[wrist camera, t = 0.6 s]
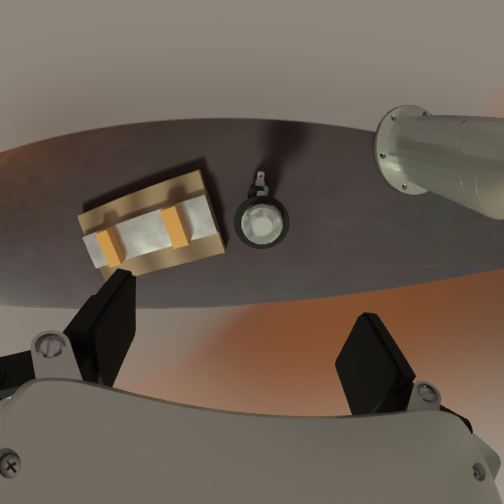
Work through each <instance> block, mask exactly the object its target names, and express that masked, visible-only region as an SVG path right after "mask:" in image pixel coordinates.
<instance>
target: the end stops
mask: <svg viewBox="0 0 504 504" xmlns="http://www.w3.org/2000/svg"><path fill="white" fill-rule="evenodd" d="M160 214H161V216H162V219H163V222H164V225H165V227H166V230H167V233H168V235H169V238H170V241H171V243H172V246H173V248H174V249H176V248H180V247H183V246H187V245H189V243H190V242H191V239H190V236H189V234H188V231H187V228H186V225H185V222H184V220H183V217H182V214H181V211H180V208H179V205H178V203H177V204H174V205H171V206H168V207H165V208H163V209H162V210H160ZM95 235H96V238H97V240H98V242H99V245H100V247H101V249H102V252H103V254H104V256H105V258H106V261H107V263H108V265H109V267H114V266H117V265H120V264H122V263H123V262H124V260H125V258H124V255H123V253H122V251H121V249H120V246H119V244H118V241H117V239H116V237H115V234H114V232H113V229H112V227H108V228H105V229H103V230H100V231H99V232H97V233H96V234H95Z"/></svg>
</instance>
